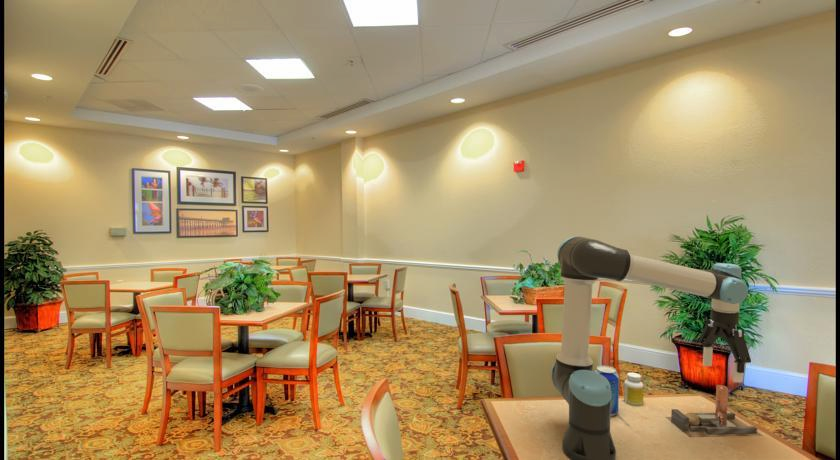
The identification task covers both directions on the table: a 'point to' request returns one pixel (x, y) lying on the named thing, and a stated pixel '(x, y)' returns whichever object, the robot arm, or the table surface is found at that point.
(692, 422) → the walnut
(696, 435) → the base
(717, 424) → the lever handle
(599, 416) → the robot arm
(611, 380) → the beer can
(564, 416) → the table surface
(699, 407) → the table surface
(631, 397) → the pill bottle
